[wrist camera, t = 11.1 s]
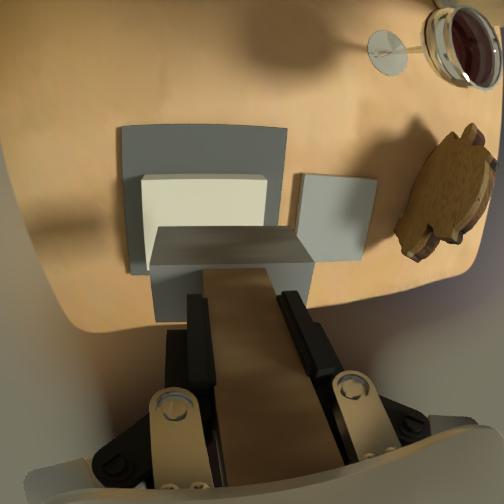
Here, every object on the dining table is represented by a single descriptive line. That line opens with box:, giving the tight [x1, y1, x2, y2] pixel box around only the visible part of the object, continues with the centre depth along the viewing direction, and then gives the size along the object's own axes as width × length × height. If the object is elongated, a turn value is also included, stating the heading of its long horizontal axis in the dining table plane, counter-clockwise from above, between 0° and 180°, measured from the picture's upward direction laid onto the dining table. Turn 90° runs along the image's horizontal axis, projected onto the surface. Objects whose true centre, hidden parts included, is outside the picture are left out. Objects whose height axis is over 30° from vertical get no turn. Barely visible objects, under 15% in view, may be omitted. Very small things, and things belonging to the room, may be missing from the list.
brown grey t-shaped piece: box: [149, 226, 345, 487], centre depth 10 cm, size 7×3×15 cm, turn 86°
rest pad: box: [294, 173, 378, 262], centre depth 31 cm, size 8×9×1 cm
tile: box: [141, 174, 267, 270], centre depth 27 cm, size 10×2×8 cm
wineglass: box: [368, 5, 503, 91], centre depth 19 cm, size 7×7×12 cm
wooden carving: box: [394, 123, 499, 263], centre depth 27 cm, size 16×5×10 cm, turn 159°
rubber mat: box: [122, 124, 288, 275], centre depth 27 cm, size 14×14×1 cm
